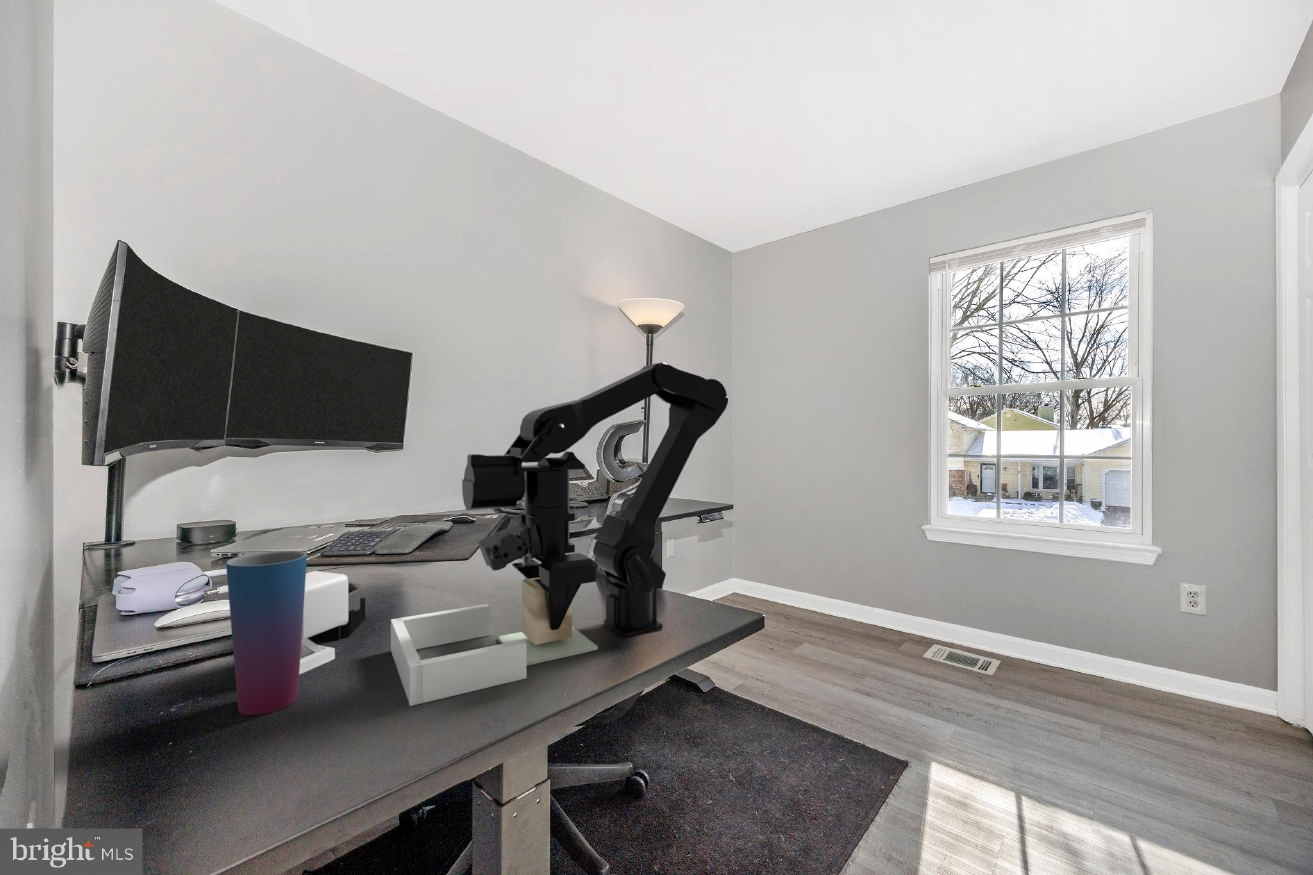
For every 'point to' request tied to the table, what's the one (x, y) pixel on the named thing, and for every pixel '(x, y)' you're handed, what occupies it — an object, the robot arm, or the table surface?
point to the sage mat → (551, 647)
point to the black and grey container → (354, 617)
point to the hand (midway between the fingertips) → (547, 623)
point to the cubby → (452, 655)
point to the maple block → (540, 616)
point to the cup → (266, 627)
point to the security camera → (322, 615)
